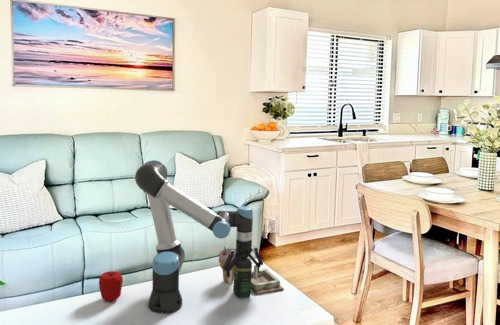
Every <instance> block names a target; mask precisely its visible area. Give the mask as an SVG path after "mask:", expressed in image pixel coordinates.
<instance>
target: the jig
mask: <svg viewBox="0 0 500 325" xmlns="http://www.w3.org/2000/svg"><path fill="white" fill-rule="evenodd" d="M284 289H285V288H284V287H283V286H282V285H281V280H279V279H278V278H277V277H276V276H275V275H274V274H272V273H271V272H270V271H269V270H268V269H267V268H263V269H259V273H258V274H257V280H255V279H254V270H252V271H251V291H252V292H253V293H254V294H255V295H256V296H258V295H263V294H270V293H276V292H281V291H282V292H283V291H284Z"/></svg>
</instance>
